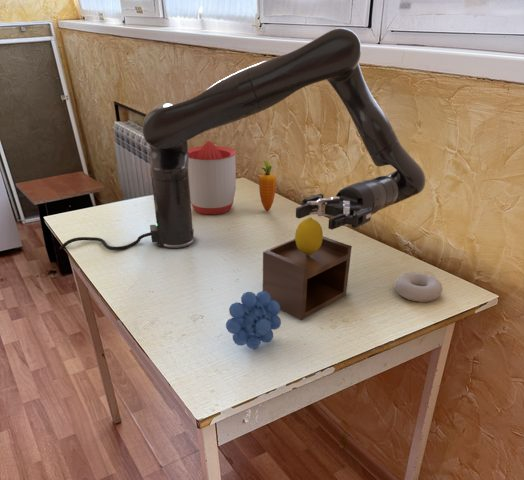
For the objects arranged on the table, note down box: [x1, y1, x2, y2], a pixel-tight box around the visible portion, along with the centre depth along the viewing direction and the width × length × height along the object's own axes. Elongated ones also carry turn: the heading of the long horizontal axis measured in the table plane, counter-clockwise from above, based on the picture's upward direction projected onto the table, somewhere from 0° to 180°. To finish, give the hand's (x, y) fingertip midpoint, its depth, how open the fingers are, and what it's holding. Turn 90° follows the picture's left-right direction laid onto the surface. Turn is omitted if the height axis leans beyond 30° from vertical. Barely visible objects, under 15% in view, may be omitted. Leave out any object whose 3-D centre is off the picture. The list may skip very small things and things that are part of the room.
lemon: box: [294, 217, 324, 256], centre depth 100 cm, size 6×6×8 cm
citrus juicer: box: [188, 140, 237, 215], centre depth 148 cm, size 16×17×20 cm
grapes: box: [225, 290, 282, 350], centre depth 88 cm, size 12×7×12 cm, turn 125°
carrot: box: [258, 159, 277, 213], centre depth 148 cm, size 5×5×15 cm
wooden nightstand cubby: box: [262, 235, 352, 321], centre depth 104 cm, size 15×11×12 cm
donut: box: [394, 272, 443, 303], centre depth 109 cm, size 10×4×10 cm
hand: (313, 218), depth 98 cm, fingers open, 8 cm apart
